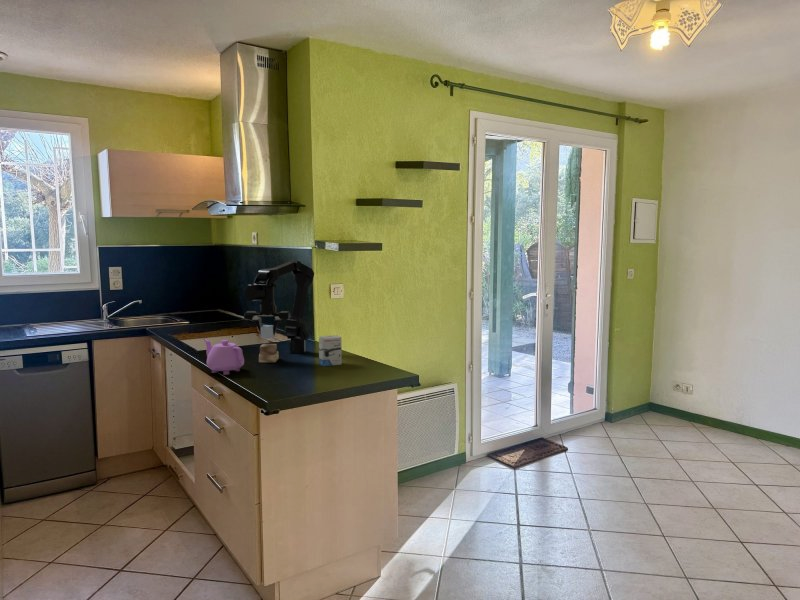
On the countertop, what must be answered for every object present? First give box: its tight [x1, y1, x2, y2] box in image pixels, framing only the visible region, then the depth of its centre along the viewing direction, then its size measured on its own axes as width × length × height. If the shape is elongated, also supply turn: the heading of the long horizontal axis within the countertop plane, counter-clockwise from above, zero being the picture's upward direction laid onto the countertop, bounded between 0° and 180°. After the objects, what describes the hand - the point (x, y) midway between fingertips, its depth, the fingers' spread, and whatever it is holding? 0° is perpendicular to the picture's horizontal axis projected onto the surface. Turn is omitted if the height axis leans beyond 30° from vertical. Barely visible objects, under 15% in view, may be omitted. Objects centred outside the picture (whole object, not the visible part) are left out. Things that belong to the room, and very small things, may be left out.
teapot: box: [203, 338, 245, 376], centre depth 220 cm, size 20×14×12 cm
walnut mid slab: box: [259, 343, 278, 355], centre depth 239 cm, size 6×6×4 cm
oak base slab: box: [258, 351, 279, 363], centre depth 240 cm, size 7×7×4 cm
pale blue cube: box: [260, 324, 276, 340], centre depth 239 cm, size 5×5×5 cm
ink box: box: [318, 334, 343, 367], centre depth 233 cm, size 8×5×12 cm, turn 118°
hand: (267, 335), depth 239 cm, fingers closed on pale blue cube, 5 cm apart
